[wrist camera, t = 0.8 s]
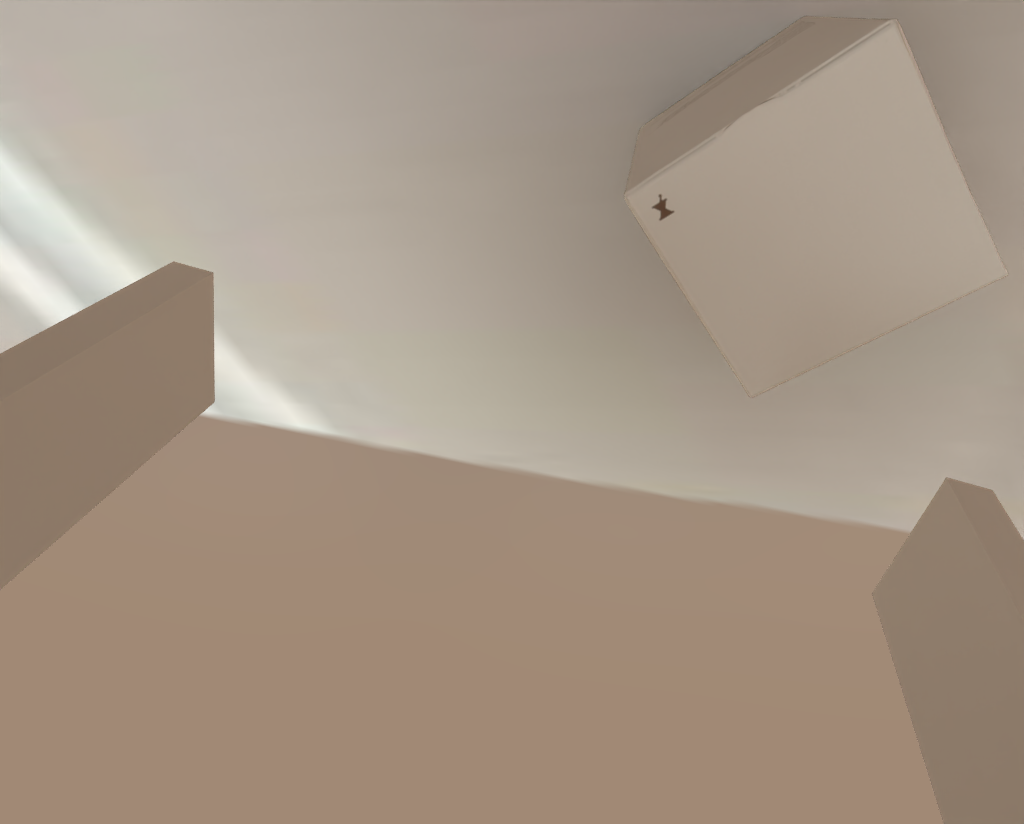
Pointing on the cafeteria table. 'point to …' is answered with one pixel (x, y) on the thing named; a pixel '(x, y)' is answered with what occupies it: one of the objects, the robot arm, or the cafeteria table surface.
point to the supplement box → (810, 199)
